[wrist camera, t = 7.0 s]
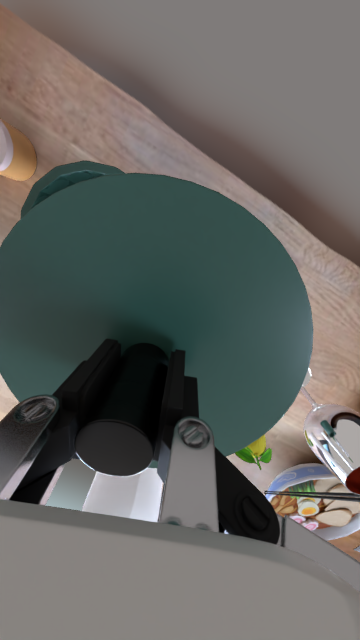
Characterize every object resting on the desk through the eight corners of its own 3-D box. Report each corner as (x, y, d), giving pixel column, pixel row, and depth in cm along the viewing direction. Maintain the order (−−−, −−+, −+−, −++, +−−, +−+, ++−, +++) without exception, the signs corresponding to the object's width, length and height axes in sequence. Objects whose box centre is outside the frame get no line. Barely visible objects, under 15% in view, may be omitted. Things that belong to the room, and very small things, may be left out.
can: (142, 461, 50) (114, 593, 31) (102, 433, 47) (45, 560, 28) (178, 437, 46) (171, 569, 27) (138, 405, 43) (100, 529, 25)
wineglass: (320, 359, 37) (427, 454, 21) (310, 394, 40) (397, 503, 23) (275, 358, 38) (344, 452, 21) (268, 393, 41) (325, 500, 24)
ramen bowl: (243, 500, 54) (252, 543, 46) (256, 438, 45) (270, 478, 38) (339, 506, 53) (364, 550, 45) (370, 444, 44) (408, 486, 37)
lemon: (224, 417, 43) (234, 464, 34) (249, 405, 42) (266, 452, 33) (239, 436, 45) (253, 486, 36) (263, 425, 44) (284, 475, 34)
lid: (195, 481, 16) (198, 611, 11) (-21, 387, 14) (-172, 491, 8) (374, 305, 11) (596, 383, 5) (55, 85, 8) (-297, -326, 2)
